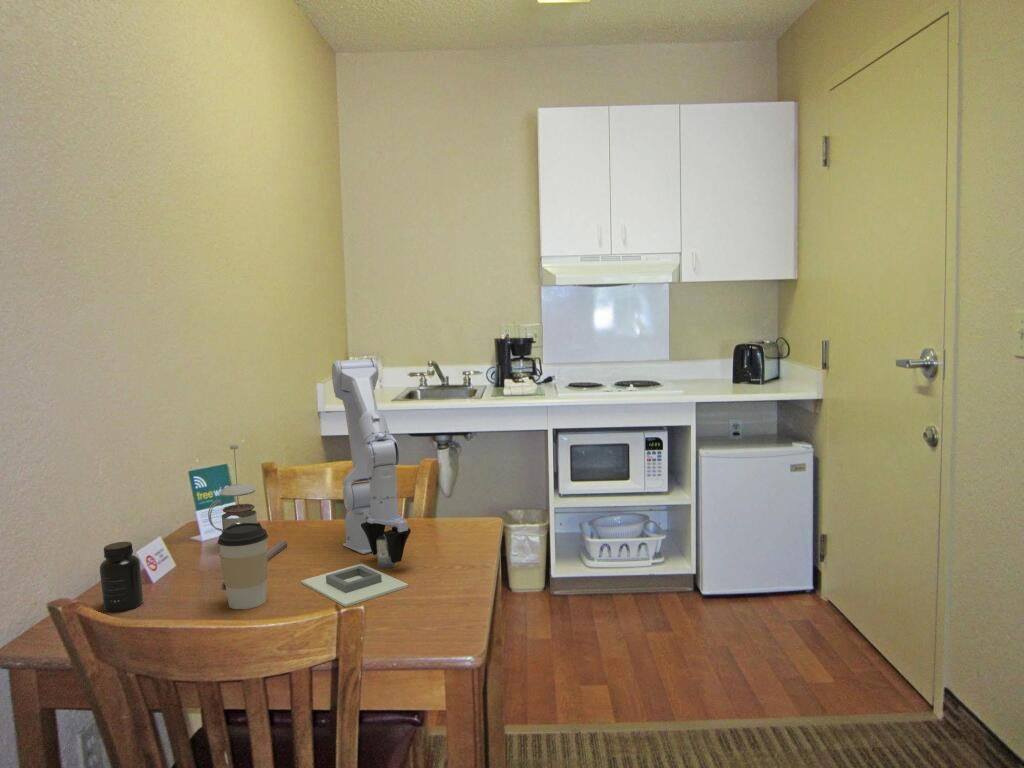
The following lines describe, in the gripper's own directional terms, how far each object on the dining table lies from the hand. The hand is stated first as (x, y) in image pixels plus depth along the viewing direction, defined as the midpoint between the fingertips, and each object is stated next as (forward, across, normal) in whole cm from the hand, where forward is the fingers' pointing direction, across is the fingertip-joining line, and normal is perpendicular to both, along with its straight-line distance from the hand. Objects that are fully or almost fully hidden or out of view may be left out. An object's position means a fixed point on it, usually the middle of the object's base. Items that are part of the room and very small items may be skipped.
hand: (386, 557), depth 161 cm
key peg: (+2, 0, 0) cm, 2 cm away
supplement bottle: (+2, -18, -48) cm, 51 cm away
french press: (+2, -37, -18) cm, 41 cm away
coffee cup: (+2, -2, -30) cm, 30 cm away
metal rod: (+2, -21, -20) cm, 29 cm away
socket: (+2, +5, -11) cm, 12 cm away
